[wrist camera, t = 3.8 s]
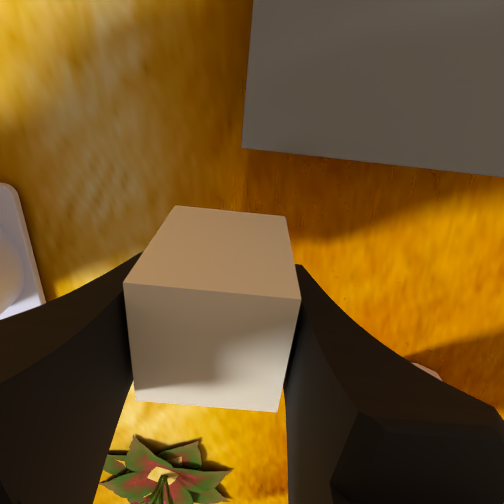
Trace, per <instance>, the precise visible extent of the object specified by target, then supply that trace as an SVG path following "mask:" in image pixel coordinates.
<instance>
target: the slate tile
mask: <svg viewBox="0 0 504 504" xmlns="http://www.w3.org/2000/svg"><path fill="white" fill-rule="evenodd" d="M241 148H247V149H256V150H265V151H274V152H283V153H292V154H301V155H310V156H318V157H327V158H336V159H345V160H354V161H363V162H372V163H381V164H390V165H399V166H407V167H416V168H425V169H434V170H443V171H452V172H461V173H470V174H479V175H488V176H497V177H504V0H253V12H252V24H251V35H250V47H249V59H248V71H247V83H246V95H245V106H244V118H243V130H242V142H241Z"/></svg>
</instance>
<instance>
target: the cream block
mask: <svg viewBox="0 0 504 504" xmlns="http://www.w3.org/2000/svg"><path fill="white" fill-rule="evenodd" d="M123 289H124V298H125V307H126V316H127V325H128V334H129V344H130V353H131V362H132V371H133V380H134V389H135V398H136V401H146V402H158V403H170V404H182V405H194V406H206V407H218V408H230V409H242V410H254V411H266V412H277V410H278V405H279V401H280V396H281V391H282V387H283V382H284V378H285V373H286V368H287V364H288V359H289V355H290V350H291V345H292V341H293V336H294V331H295V327H296V322H297V318H298V313H299V308H300V304H301V294H300V289H299V284H298V279H297V274H296V269H295V264H294V259H293V253H292V248H291V243H290V238H289V233H288V228H287V223H286V217H285V216H277V215H267V214H258V213H248V212H238V211H228V210H219V209H209V208H199V207H189V206H179V205H175V206H174V207H173V209H172V210H171V212H170V213H169V215H168V216H167V218H166V219H165V221H164V222H163V224H162V225H161V227H160V228H159V230H158V231H157V233H156V234H155V236H154V237H153V239H152V240H151V242H150V243H149V244H148V246H147V247H146V249H145V250H144V252H143V253H142V255H141V256H140V258H139V259H138V261H137V262H136V264H135V265H134V267H133V268H132V270H131V271H130V273H129V274H128V276H127V277H126V279H125V280H124V281H123Z"/></svg>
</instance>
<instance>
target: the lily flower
mask: <svg viewBox="0 0 504 504" xmlns="http://www.w3.org/2000/svg"><path fill="white" fill-rule="evenodd" d="M198 442H199V441H197V442H194V443H191V444H188V445H185V446H184V447H178V448H174V449H171V450H167V451H163V452H161V453H159V454H158V455H157V456H155V455H154V454H153V453H152V452H151V451H150V450H149V449H148V448H147V447H145V446H144V445H143V444H142V443H140V442H139V440H138V439H137V438H136V437H135V436H134V435H133V441H132V442H131V445H130V451H128V453H127V455H107V458H106V461H105V464H104V468H103V470H105V471H106V472H108V473H110V474H113V475H116V476H120V477H117V478H114V479H112V480H111V481H109V482H104V483H99V484H101V485H104V486H105V487H106V488H108V489H109V490H113V491H114V493H115V494H117V495H119V496H120V497H123V498H127V499H128V501H129V502H130V504H193V502H196V503H200V504H212V503H218V502H221V501H223V502H229V501H228V500H226V499H225V498H224V497H223V496H222V495H221V494H220V493H219V492H218V491H217V490H216V489H215V487H216V486H217V485H218V484H219V483H220V482H221V481H222V480H223V478H224V476H225V475H227V474H229V473H230V472H231V471H217V472H214V471H213V472H202V471H198V470H199V469H200V467H201V465H202V461H201V455H200V450H199V449H198V447H197V446H198ZM181 456H182V463H183V468H184V469H182V468H173V466H172V465H170V464H169V463H168V462H166V461H164V460H168V459H173V458H177V457H181ZM115 459H116V460H115ZM117 460H121V461H125V465H126V467H127V468H126V467H125V466H124V465H123V464H122V463H120V462H119V461H117ZM156 466H158V467H161V468H164V469H168V470H171V471H173V472H176V473H178V474H180V475H179V476H178V477H177V479H176V480H175V481H174V482H173V483H172V484H171V485H168V482H167V478H168V476H165V475H164V476H163V475H161V477H160V479H159V481H158V482H155V481H153V480H150V479H148V478H147V476H148V475H149V473H150V472H151V470H153V469H154V468H155V467H156ZM129 469H130V470H129ZM131 470H132V471H135V472H134V473H133V472H132V471H131ZM162 479H163V480H162ZM161 482H162V483H161ZM151 492H152V494H151V495H148V494H150V493H151ZM146 495H148V496H146ZM144 496H146V497H144ZM143 497H144V498H143Z"/></svg>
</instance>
